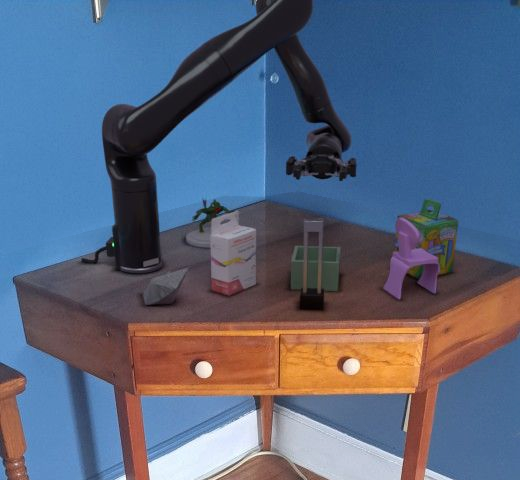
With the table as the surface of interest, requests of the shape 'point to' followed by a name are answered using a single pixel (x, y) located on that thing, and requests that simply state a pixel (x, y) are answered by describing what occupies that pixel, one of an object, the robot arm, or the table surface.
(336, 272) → the holder
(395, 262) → the toy chair
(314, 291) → the tall two-post stand
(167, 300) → the grey faceted pointed rock
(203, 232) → the monster figurine
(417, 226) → the chalk box
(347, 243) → the table surface
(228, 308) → the table surface
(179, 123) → the robot arm
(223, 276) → the ink cartridge box
